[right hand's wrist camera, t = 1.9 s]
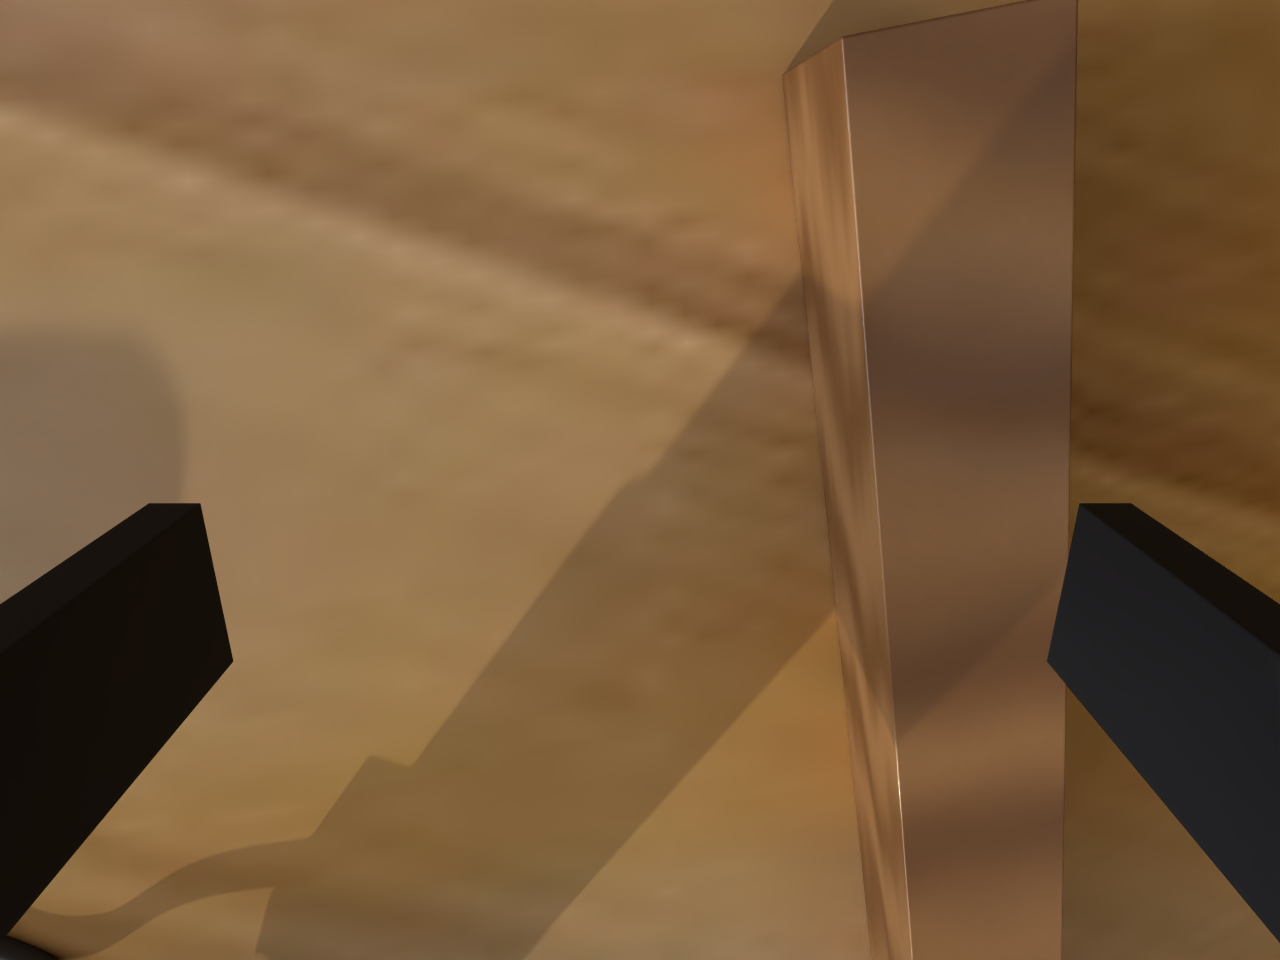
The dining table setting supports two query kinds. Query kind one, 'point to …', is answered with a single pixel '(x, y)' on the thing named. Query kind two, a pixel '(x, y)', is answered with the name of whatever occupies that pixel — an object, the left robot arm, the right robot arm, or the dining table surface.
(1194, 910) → the dining table surface
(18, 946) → the left robot arm
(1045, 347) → the bar
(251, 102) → the dining table surface
